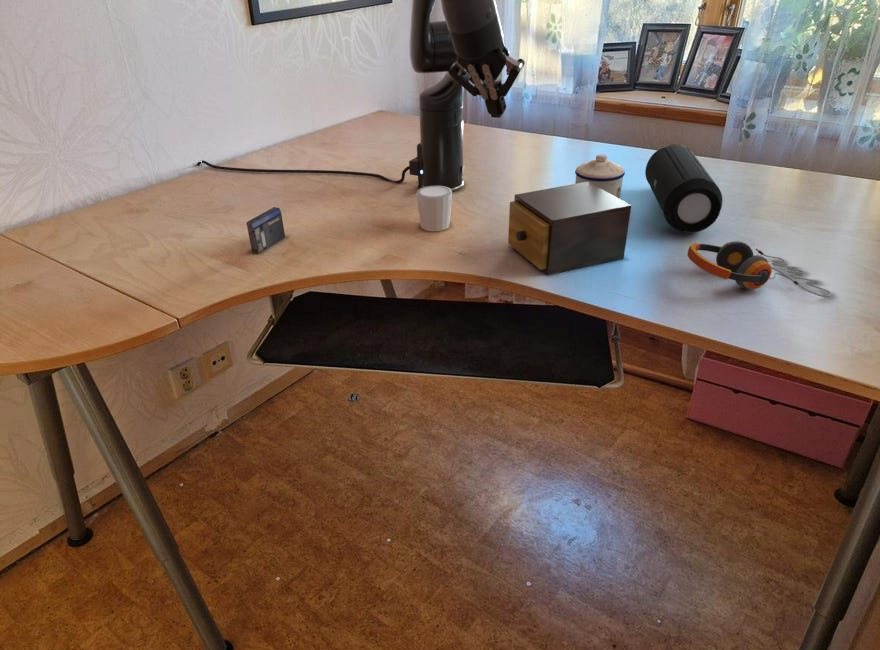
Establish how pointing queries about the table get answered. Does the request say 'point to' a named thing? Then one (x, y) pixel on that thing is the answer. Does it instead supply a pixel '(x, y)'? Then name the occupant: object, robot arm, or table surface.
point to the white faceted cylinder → (434, 207)
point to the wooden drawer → (528, 234)
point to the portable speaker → (683, 189)
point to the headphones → (743, 265)
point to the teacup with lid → (601, 174)
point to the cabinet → (580, 225)
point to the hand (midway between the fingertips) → (498, 114)
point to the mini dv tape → (265, 230)
